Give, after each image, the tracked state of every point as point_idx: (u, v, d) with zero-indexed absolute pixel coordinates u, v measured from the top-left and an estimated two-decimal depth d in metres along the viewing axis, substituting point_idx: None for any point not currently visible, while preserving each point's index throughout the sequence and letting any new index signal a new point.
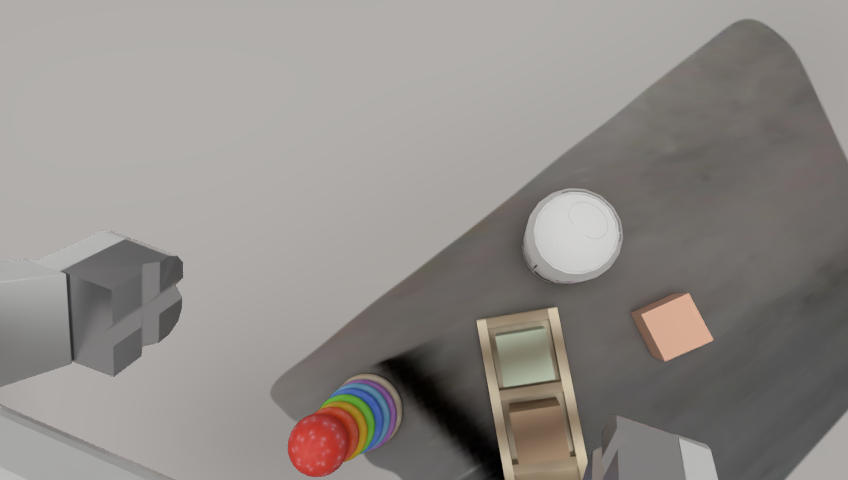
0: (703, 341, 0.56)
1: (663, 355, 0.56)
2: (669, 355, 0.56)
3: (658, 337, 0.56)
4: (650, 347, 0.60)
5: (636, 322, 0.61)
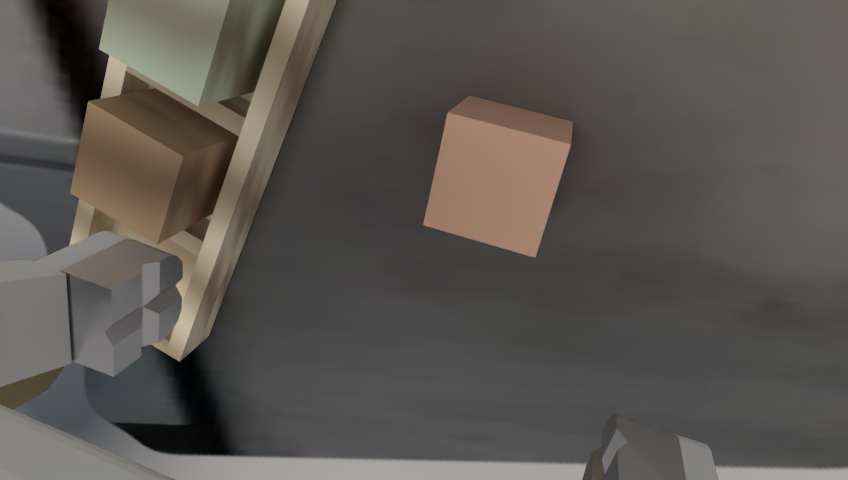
0: (516, 245, 0.24)
1: (428, 213, 0.25)
2: (439, 220, 0.25)
3: (444, 177, 0.24)
4: None
5: None
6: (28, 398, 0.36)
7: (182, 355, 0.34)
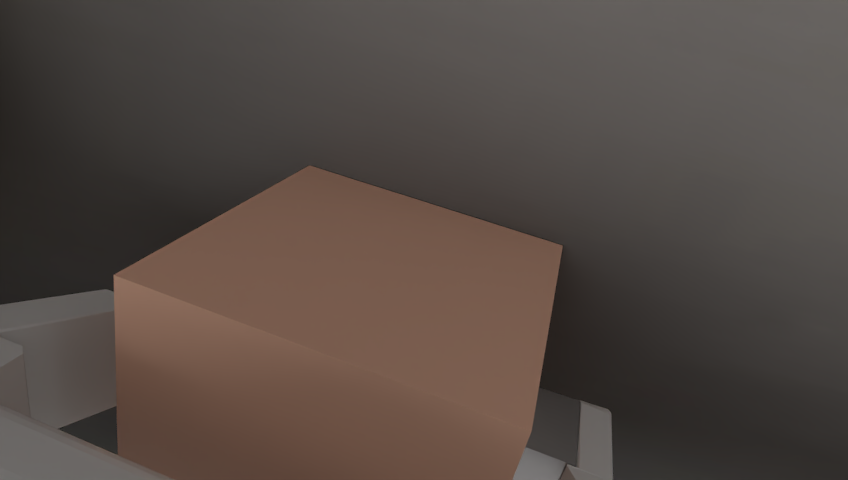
0: None
1: None
2: None
3: (145, 455, 0.08)
4: None
5: None
6: None
7: None
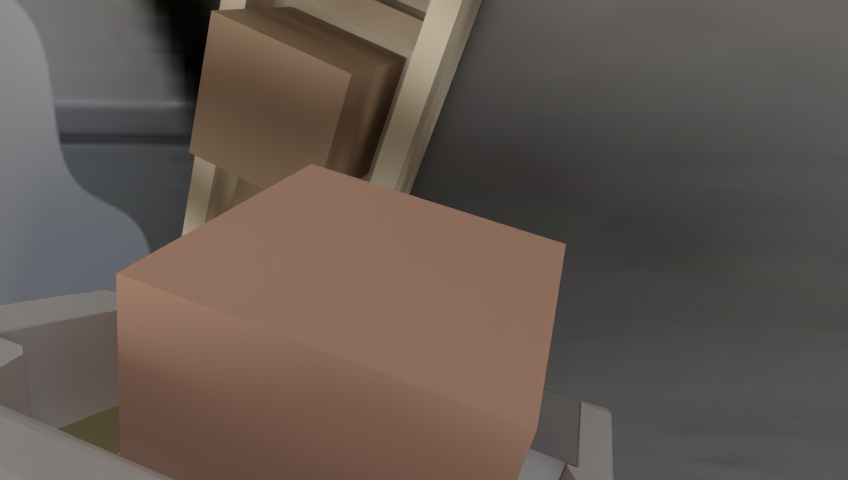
0: None
1: None
2: None
3: (148, 454, 0.08)
4: None
5: None
6: None
7: None
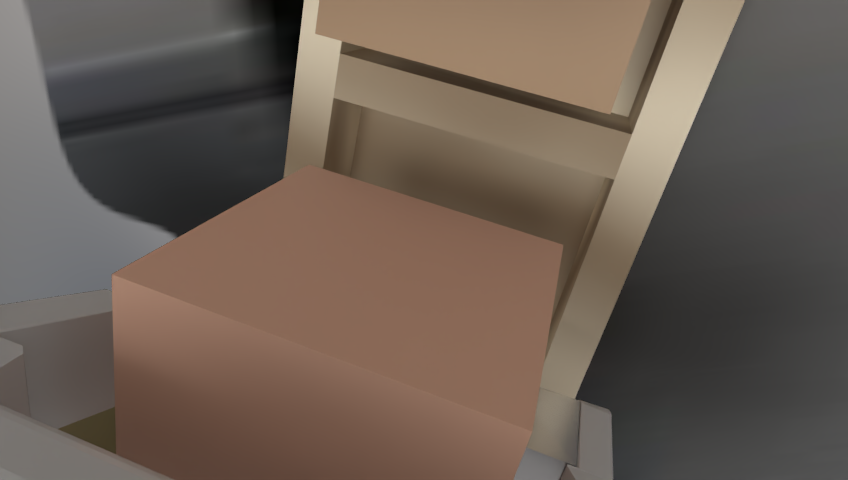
0: None
1: None
2: None
3: (144, 454, 0.08)
4: None
5: None
6: None
7: None
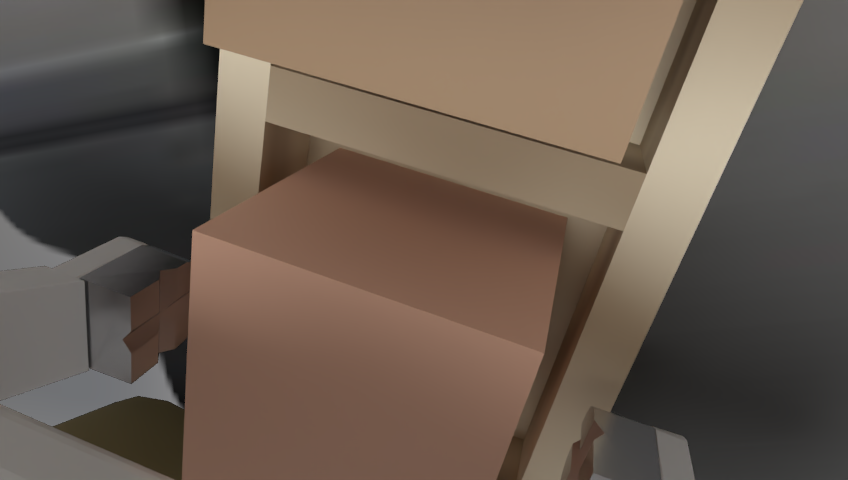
0: None
1: (187, 461, 0.10)
2: None
3: (211, 389, 0.09)
4: None
5: None
6: None
7: None
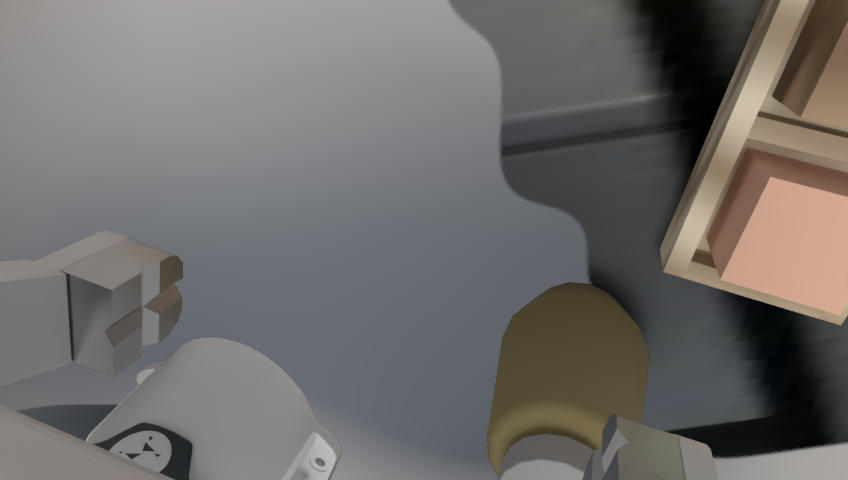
0: (820, 303, 0.25)
1: (728, 269, 0.26)
2: (738, 276, 0.26)
3: (753, 237, 0.25)
4: (718, 227, 0.29)
5: (740, 171, 0.28)
6: None
7: (844, 316, 0.28)
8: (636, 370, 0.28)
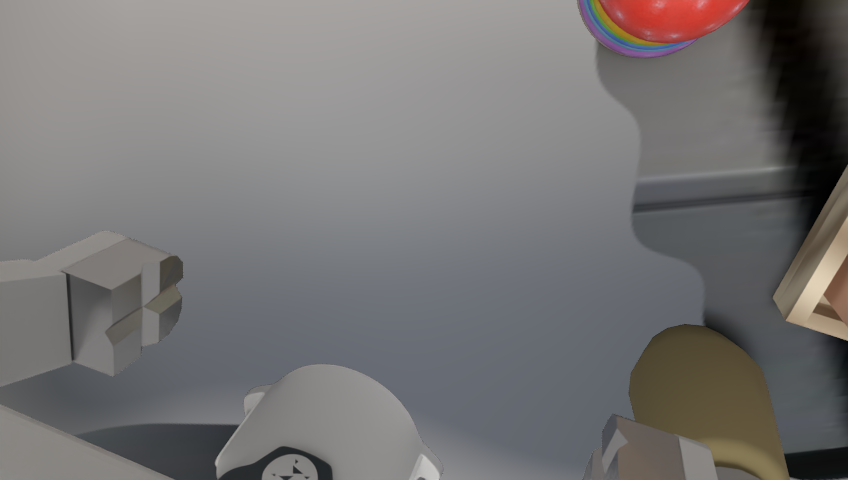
0: None
1: None
2: None
3: None
4: (837, 284, 0.33)
5: None
6: None
7: None
8: (771, 408, 0.32)
